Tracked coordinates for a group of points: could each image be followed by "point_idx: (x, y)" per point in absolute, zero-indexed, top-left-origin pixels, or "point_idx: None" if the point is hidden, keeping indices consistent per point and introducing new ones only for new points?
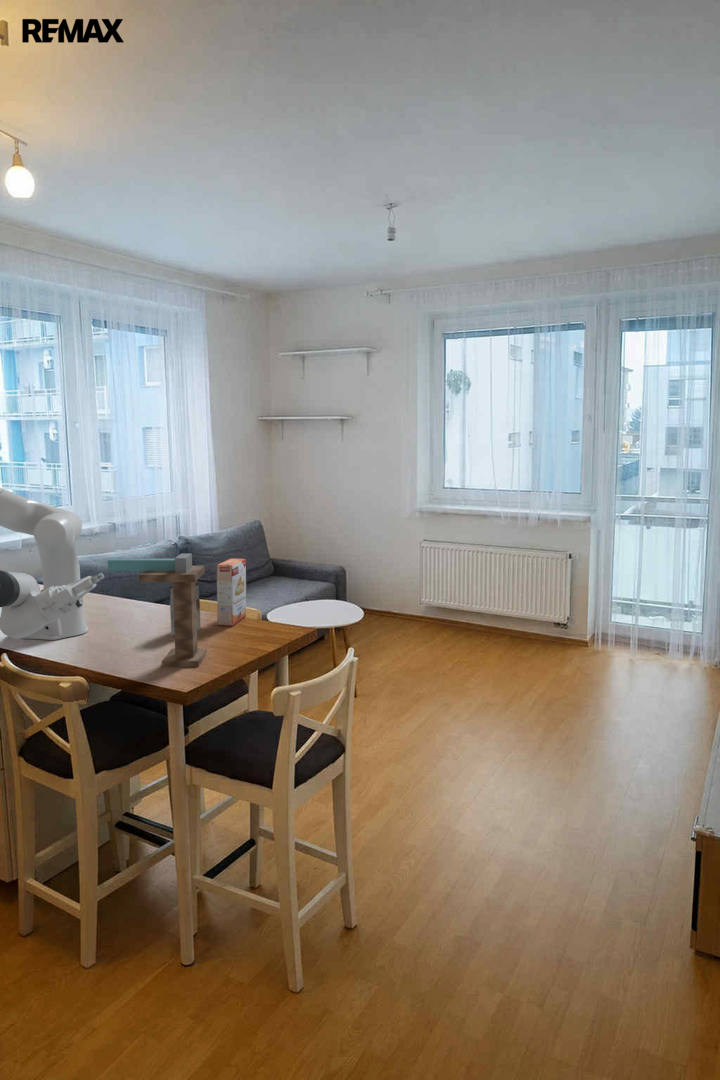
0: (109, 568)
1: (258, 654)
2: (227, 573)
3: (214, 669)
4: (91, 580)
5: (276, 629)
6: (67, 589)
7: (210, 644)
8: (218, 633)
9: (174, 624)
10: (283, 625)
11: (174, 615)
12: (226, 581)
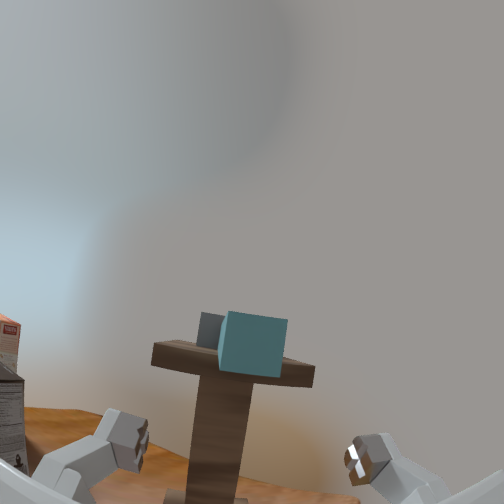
0: (280, 363)
1: (182, 460)
2: (13, 338)
3: (257, 492)
4: (85, 487)
5: (65, 418)
6: (497, 471)
7: (106, 480)
8: (41, 450)
9: (239, 468)
10: (52, 409)
11: (242, 451)
12: (10, 352)
